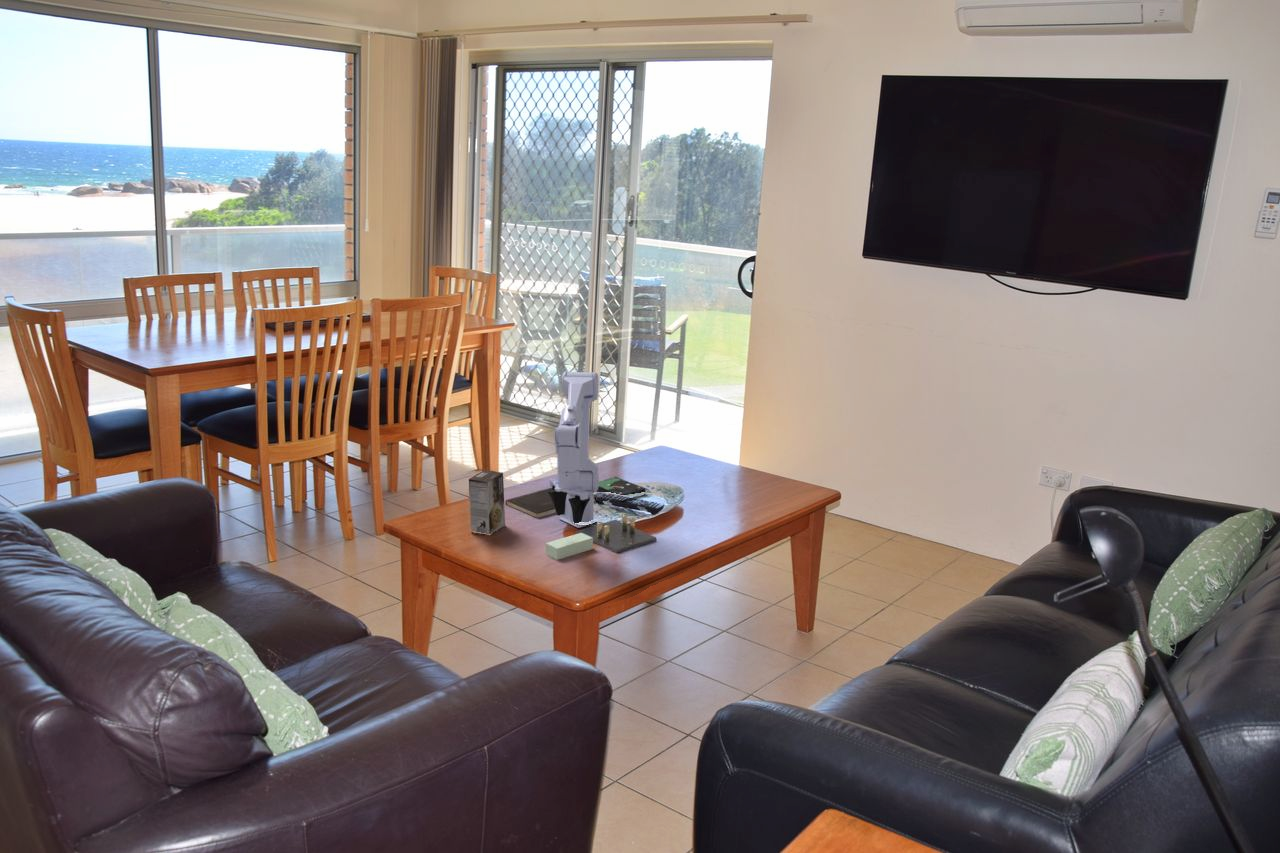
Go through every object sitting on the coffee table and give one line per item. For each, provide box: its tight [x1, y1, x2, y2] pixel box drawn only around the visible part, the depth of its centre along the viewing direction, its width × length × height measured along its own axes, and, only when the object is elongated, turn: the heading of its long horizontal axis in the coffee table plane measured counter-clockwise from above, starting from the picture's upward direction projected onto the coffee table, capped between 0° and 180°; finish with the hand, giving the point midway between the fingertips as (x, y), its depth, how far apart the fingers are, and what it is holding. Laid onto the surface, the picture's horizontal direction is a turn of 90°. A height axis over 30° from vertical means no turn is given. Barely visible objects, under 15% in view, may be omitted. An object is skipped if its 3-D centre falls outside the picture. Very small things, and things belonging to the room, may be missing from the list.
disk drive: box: [595, 476, 646, 495], centre depth 324 cm, size 10×3×15 cm
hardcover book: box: [505, 487, 597, 519], centre depth 314 cm, size 16×23×2 cm
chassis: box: [575, 514, 657, 554], centre depth 286 cm, size 18×14×5 cm
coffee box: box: [468, 469, 506, 534], centre depth 290 cm, size 9×6×16 cm
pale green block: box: [545, 533, 594, 561], centre depth 276 cm, size 5×12×4 cm, turn 131°
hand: (569, 518), depth 274 cm, fingers open, 7 cm apart
